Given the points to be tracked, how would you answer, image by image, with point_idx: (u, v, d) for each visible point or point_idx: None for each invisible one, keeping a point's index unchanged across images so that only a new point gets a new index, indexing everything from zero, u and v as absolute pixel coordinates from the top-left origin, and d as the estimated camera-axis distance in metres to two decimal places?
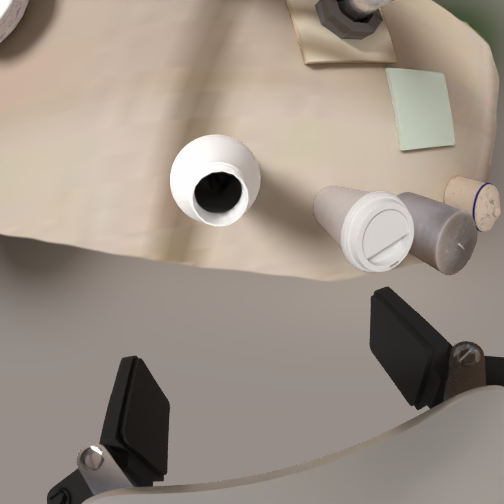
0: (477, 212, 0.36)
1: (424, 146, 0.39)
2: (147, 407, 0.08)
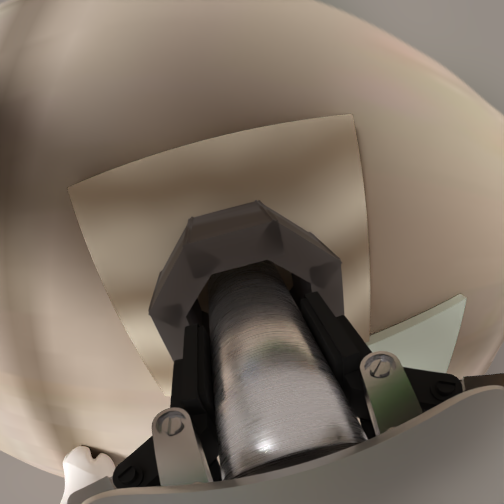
0: None
1: None
2: None
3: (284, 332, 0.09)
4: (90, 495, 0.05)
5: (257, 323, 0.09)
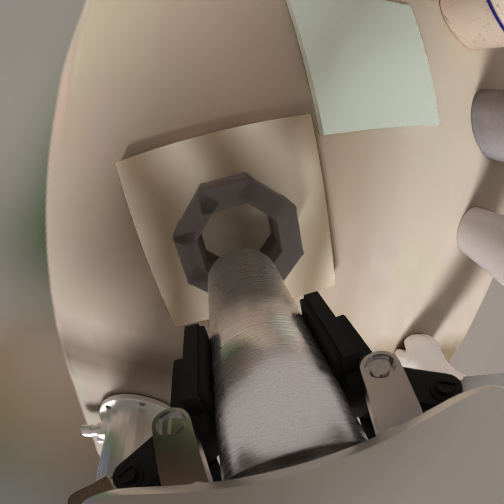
0: None
1: (430, 78, 0.21)
2: None
3: (284, 331, 0.09)
4: (90, 495, 0.05)
5: (257, 322, 0.09)
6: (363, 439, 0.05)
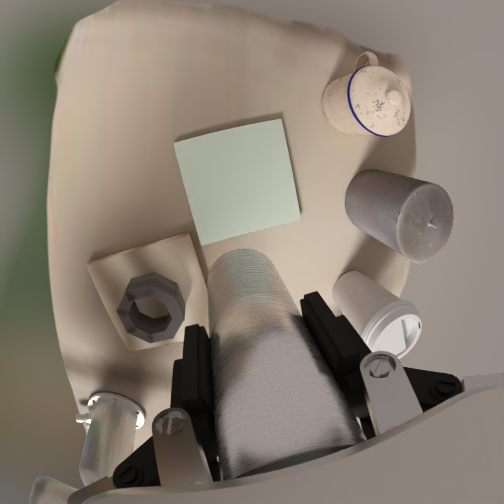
0: (389, 133, 0.28)
1: (292, 184, 0.37)
2: None
3: (283, 333, 0.09)
4: (90, 495, 0.05)
5: (256, 324, 0.09)
6: None
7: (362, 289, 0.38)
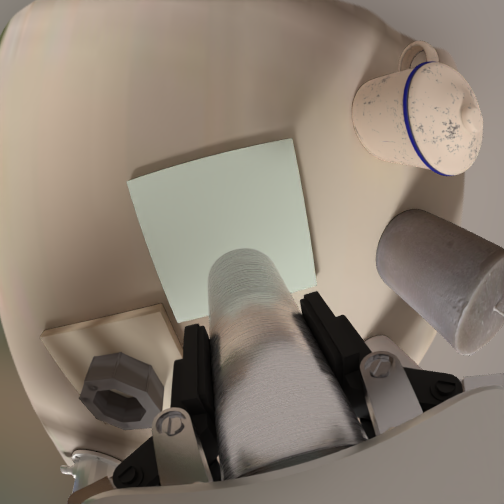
0: (458, 172, 0.17)
1: (307, 238, 0.25)
2: None
3: (284, 332, 0.09)
4: (90, 495, 0.05)
5: (257, 323, 0.09)
6: None
7: None
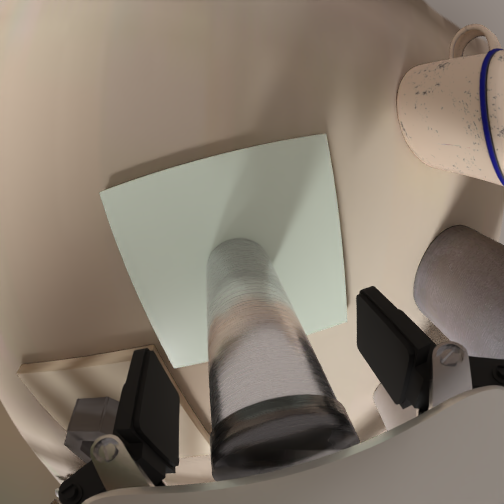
0: None
1: (340, 265, 0.19)
2: (159, 398, 0.09)
3: (268, 307, 0.10)
4: None
5: (246, 299, 0.11)
6: (330, 396, 0.07)
7: None
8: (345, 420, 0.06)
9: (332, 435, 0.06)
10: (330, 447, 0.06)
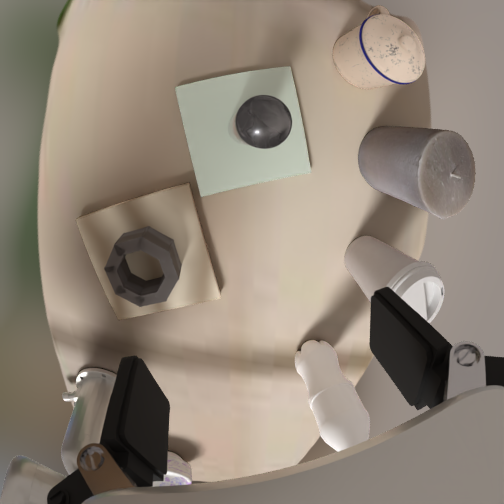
0: (405, 80, 0.23)
1: (302, 133, 0.33)
2: (147, 407, 0.08)
3: None
4: None
5: None
6: None
7: (378, 252, 0.34)
8: None
9: (277, 102, 0.19)
10: (278, 110, 0.19)
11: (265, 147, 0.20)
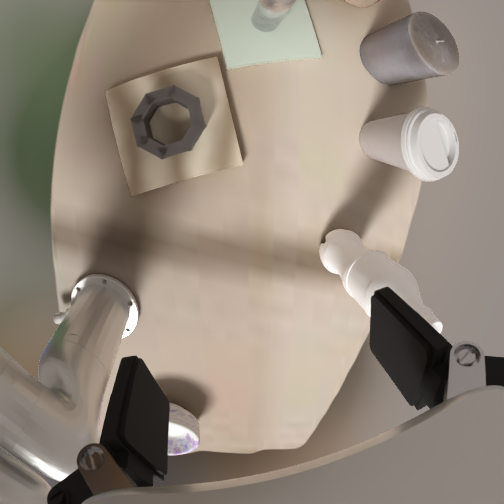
0: None
1: (312, 28, 0.31)
2: (147, 407, 0.08)
3: None
4: None
5: None
6: None
7: (390, 117, 0.33)
8: None
9: None
10: None
11: None
